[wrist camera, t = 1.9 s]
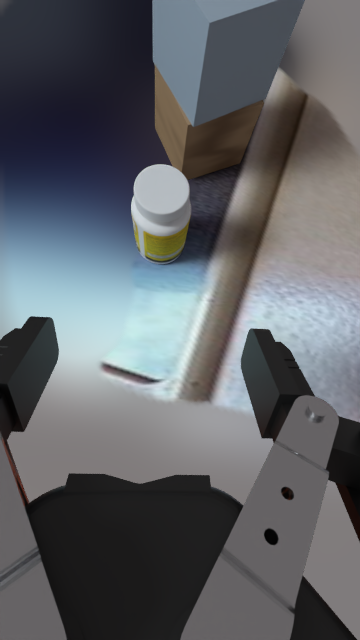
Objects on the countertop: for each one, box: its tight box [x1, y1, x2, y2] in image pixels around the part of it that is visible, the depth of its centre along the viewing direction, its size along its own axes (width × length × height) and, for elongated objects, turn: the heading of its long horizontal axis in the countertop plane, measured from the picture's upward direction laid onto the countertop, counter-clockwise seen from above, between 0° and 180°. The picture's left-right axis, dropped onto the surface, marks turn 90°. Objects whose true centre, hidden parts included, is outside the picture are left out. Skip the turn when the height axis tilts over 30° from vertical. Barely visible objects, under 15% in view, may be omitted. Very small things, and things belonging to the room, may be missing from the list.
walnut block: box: [155, 65, 264, 180], centre depth 28 cm, size 7×7×7 cm
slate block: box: [153, 0, 305, 127], centre depth 21 cm, size 7×7×7 cm
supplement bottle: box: [131, 164, 191, 264], centre depth 24 cm, size 5×5×8 cm
